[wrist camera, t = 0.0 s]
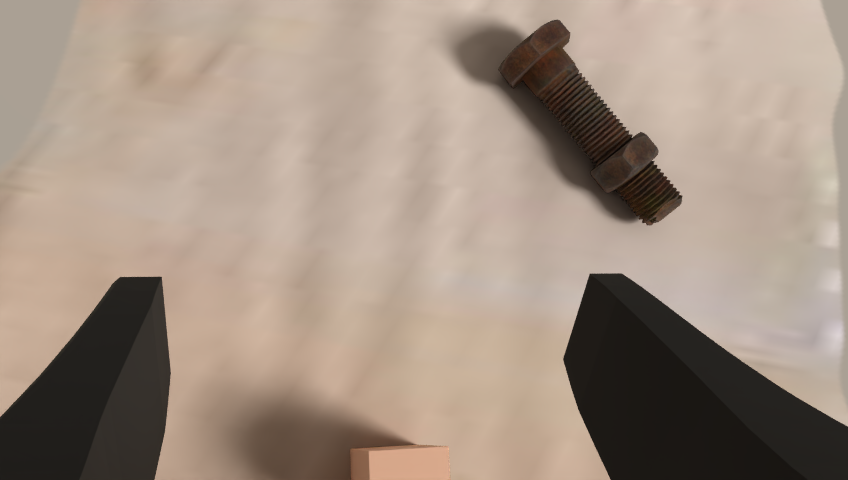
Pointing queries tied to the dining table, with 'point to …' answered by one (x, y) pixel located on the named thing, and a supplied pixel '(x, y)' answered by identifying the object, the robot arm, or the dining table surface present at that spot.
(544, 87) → the dark brown elongated piece
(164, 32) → the dining table surface
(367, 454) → the peg
